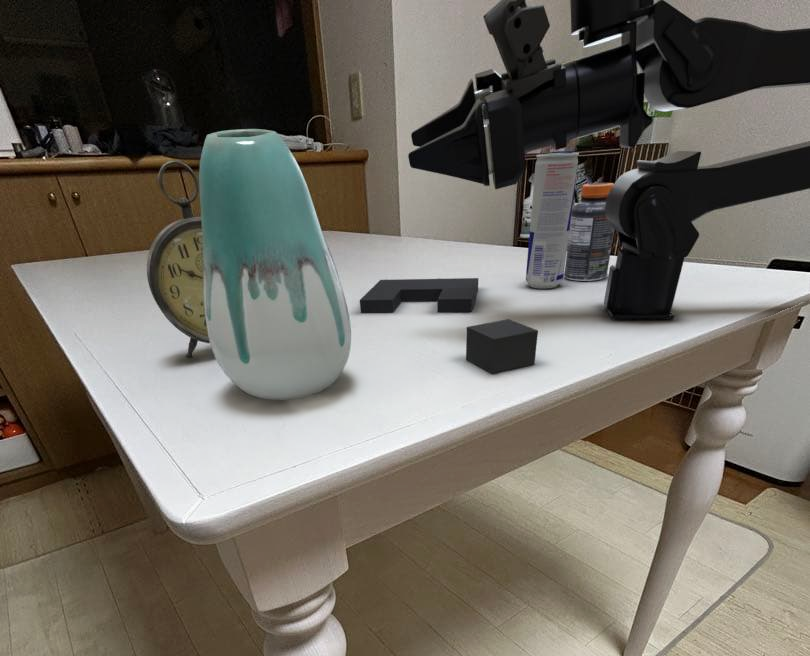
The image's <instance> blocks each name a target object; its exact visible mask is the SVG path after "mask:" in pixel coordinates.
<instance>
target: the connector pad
mask: <svg viewBox="0 0 810 656" xmlns="http://www.w3.org/2000/svg"><path fill="white" fill-rule="evenodd" d="M538 334H539V329H535V328H533V327H531V326H527V325H525V324H522V323H520V322H517V321H515V320H513V319H510V318H507V319H501V320H496V321H491V322H485V323H479V324H475V325H470V326H466V341H465V360H466V361H468V362H470V363H472V364H473V365H475V366H477V367H479V368H481V369H482V370H484V371H486V372H488V373H490V374H497V373H501V372H502V373H503V372H506V371H510V370H514V369H520V368H523V367H524V368H525V367H528V366H532V365H535V364H536V363H535V362H536V354H537V353H536V352H537V345H538V344H537V343H538Z"/></svg>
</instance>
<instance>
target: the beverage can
mask: <svg viewBox="0 0 810 656" xmlns="http://www.w3.org/2000/svg"><path fill="white" fill-rule="evenodd" d="M579 155H580V153H579V152H573V151H571V150H566V151H565V150H564V151H561V150H560V151H558V150H557V151H551V153H545V154H544V153H542V154H536V158H537V159H536V161H535V165H534V166H535V167H534V176H533V189H532V200H531V201H532V202H531V213H530V223H529V224H530V226H529V237H528V248H527V259H526V269H525V271H526V272H525V281H526V283H528V284H529V287H530V288H534V289H540V290H541V289H545V290H546V289H554V288H556V287H558V286H559V284H560V283H562V282H563V280H564V277H565V275H564V272H565V265H566V256H567V248H568V240H569V232H570V223H571V215H572V209H573V207H574V206H573V205H574V197H575V190H576V182H577V173H578V166H579V158H578V156H579Z"/></svg>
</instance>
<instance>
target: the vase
mask: <svg viewBox="0 0 810 656" xmlns="http://www.w3.org/2000/svg"><path fill="white" fill-rule="evenodd" d="M198 174H199V175H198V176H199V177H198V179H199V180H198V185H199V200H200V201H199V202H200V217H201V220H202V238H203V267H202V277H203V300H204V311H205V319H206V327H207V332H208V338H209V342H210V343H209V345H210V349H211V351H212V354H213V356H214V358H215V360H216V362H217V364H218V366H219V367H220V369H221V370H222V372H223V373H224V375H225V376H226V377H227V378H228V380H230V381H231V382H232V383H233V384H235V386H236V387H237V388H239V389H240V390H242V391H243V392H244V393H246V394H249V395H251V396H253V397H256V398H259V399H264V400H271V401H286V400H288V401H289V400H296V399H302V398H306V397H309V396H314V395H315V394H318V393H320V392H323V391H324V390H326V389H327V388H329V387H330V386H332V385H334V383H335V382H336V381H337V380H338V379H339V378H340V376H341V375H342V373H343V371H344V370H345V367H346V365H347V363H348V361H349V356H350V352H351V349H352V348H351V347H352V323H351V319H350V313H349V309H348V303H347V299H346V296H345V292H344V289H343V285H342V283H341V279H340V275H339V273H338V272H339V271H338V270H337V266H336V264H335V260H334V258H333V255H332V252H331V250H330V248H329V246H328V243H327V241H326V238H325V235H324V233H323V230H322V227H321V224H320V220H319V218H318V214H317V211H316V209H315V205H314V201H313V199H312V196H311V193H310V189H309V187H308V185H307V181H306V178H305V177H304V174H303V172H302V170H301V167H300V165H299V163H298V162H297V160H296V158H295V156H294V155H293V153H292V151H291V150H290V148H289V147H288V145H287V144H286V142H285V141H284V139H283V138H282V137H281V136H280V134H278V133H277V131H275V130H268V129H260V128H243V129H241V128H240V129H228V130H226V129H225V130H221V131H215V132H211V133H209V134H206V136H205V139H204V142H203V146H202V150H201V154H200V161H199V173H198Z"/></svg>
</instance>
